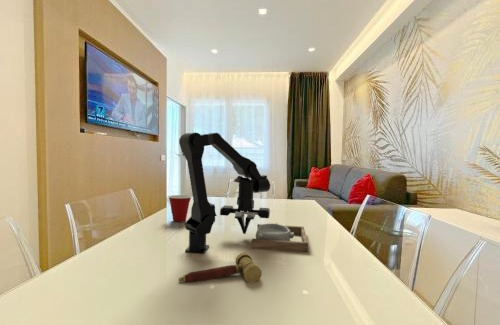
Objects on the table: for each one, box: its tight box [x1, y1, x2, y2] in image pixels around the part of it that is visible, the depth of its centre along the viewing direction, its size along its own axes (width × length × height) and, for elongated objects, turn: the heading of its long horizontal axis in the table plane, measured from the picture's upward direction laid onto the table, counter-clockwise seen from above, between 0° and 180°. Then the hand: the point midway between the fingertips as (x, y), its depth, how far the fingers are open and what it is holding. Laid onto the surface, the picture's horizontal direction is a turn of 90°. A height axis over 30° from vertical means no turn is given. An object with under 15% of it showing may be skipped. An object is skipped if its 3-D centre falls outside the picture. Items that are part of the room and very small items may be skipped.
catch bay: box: [251, 223, 309, 253], centre depth 103 cm, size 20×19×3 cm
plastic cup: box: [168, 194, 193, 223], centre depth 128 cm, size 11×11×12 cm
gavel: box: [178, 252, 263, 283], centre depth 72 cm, size 21×5×10 cm
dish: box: [255, 222, 295, 241], centre depth 103 cm, size 14×14×5 cm
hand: (244, 233), depth 104 cm, fingers closed
